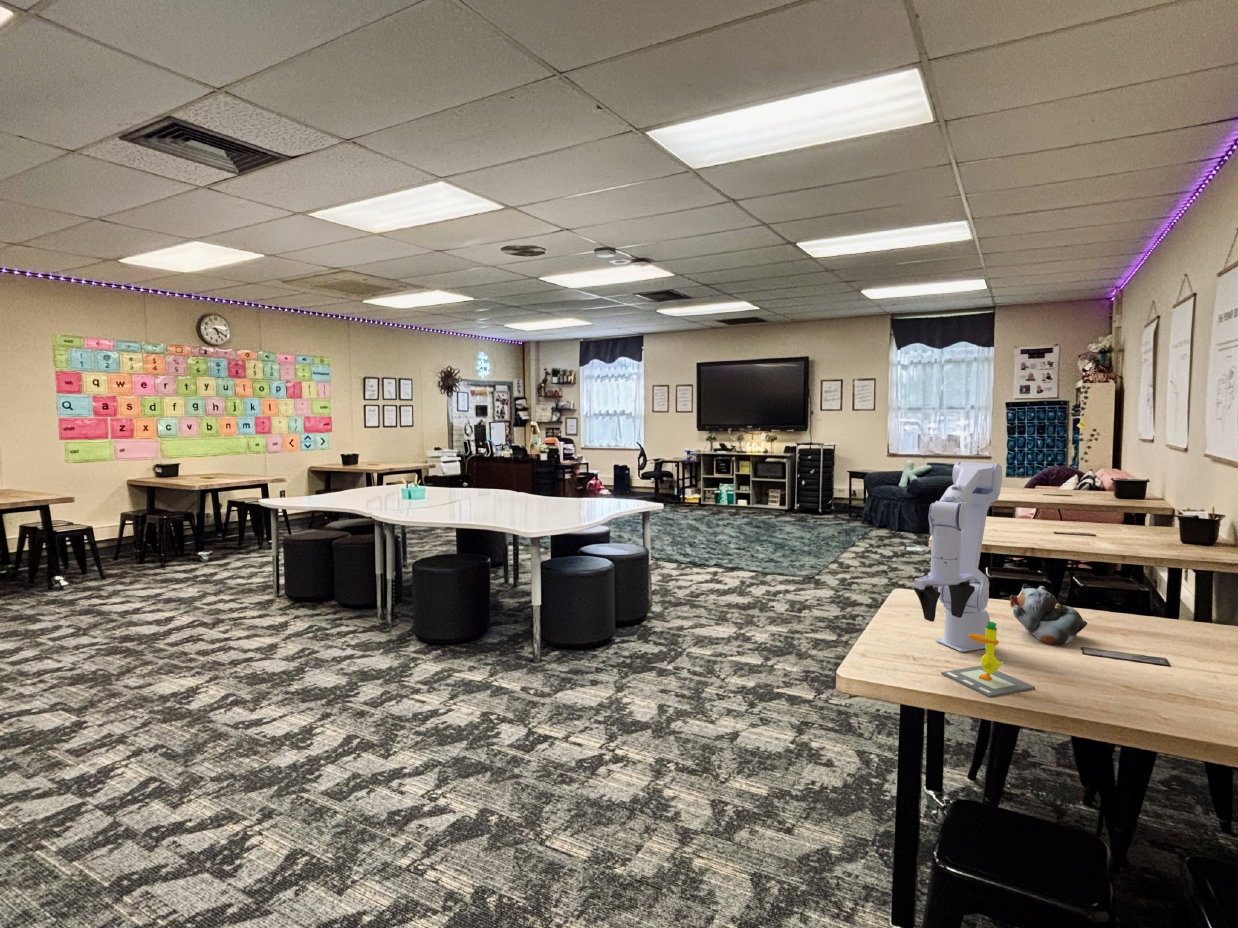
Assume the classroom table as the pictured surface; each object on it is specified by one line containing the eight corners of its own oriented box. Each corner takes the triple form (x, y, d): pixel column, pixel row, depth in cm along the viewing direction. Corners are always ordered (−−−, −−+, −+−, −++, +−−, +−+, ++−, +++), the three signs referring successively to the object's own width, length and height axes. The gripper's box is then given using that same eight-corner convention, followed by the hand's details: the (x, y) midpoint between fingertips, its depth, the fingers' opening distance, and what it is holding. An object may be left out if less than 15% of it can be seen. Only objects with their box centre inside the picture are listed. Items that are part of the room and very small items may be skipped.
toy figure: (964, 676, 139) (966, 619, 138) (969, 671, 141) (972, 615, 140) (1000, 685, 134) (1003, 627, 133) (1005, 680, 137) (1008, 623, 136)
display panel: (984, 666, 145) (984, 664, 145) (1035, 688, 134) (1035, 686, 134) (941, 673, 141) (941, 671, 141) (989, 697, 130) (989, 694, 130)
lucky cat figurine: (1061, 650, 155) (1029, 594, 157) (1018, 653, 166) (989, 601, 168) (1098, 623, 161) (1067, 570, 163) (1054, 628, 172) (1026, 578, 174)
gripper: (956, 550, 151) (954, 609, 152) (905, 555, 146) (902, 616, 147) (983, 557, 144) (980, 618, 145) (929, 562, 139) (927, 626, 140)
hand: (943, 618), depth 146 cm, fingers open, 7 cm apart
